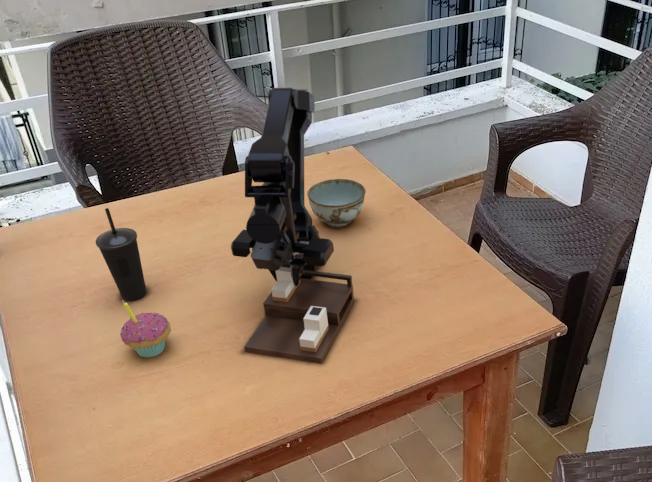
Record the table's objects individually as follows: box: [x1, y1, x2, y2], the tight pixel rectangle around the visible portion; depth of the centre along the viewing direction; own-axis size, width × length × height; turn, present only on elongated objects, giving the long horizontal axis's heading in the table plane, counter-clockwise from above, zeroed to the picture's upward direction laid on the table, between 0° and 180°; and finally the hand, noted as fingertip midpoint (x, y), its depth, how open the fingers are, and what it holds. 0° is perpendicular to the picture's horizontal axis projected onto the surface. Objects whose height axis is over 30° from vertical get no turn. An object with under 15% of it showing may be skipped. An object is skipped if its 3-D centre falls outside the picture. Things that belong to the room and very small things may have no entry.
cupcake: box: [119, 299, 172, 359], centre depth 124 cm, size 9×8×12 cm
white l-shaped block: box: [270, 260, 301, 302], centre depth 133 cm, size 7×3×5 cm, turn 167°
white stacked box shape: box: [299, 306, 329, 352], centre depth 126 cm, size 7×3×5 cm, turn 167°
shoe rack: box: [244, 270, 355, 364], centre depth 131 cm, size 15×19×6 cm
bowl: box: [306, 178, 367, 228], centre depth 163 cm, size 14×13×8 cm
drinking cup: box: [95, 207, 147, 302], centre depth 136 cm, size 8×8×20 cm
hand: (288, 283), depth 135 cm, fingers open, 3 cm apart
